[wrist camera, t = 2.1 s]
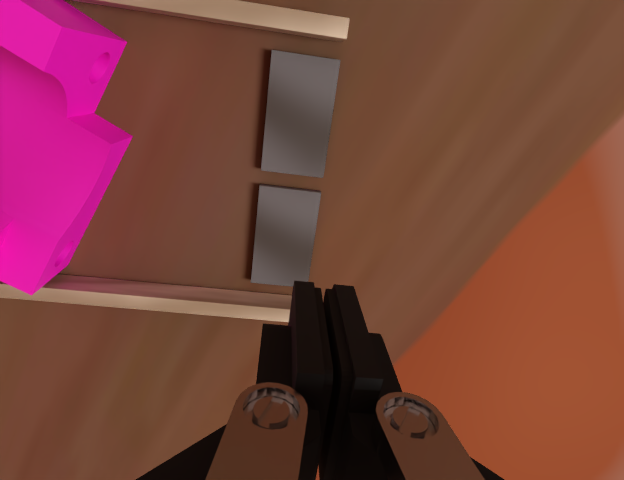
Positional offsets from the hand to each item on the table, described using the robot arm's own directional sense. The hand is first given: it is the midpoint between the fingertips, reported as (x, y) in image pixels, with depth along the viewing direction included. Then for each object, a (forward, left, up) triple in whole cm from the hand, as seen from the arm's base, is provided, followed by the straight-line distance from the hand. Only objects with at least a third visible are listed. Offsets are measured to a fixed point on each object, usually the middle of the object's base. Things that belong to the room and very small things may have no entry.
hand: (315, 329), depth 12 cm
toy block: (-1, -15, -17) cm, 23 cm away
